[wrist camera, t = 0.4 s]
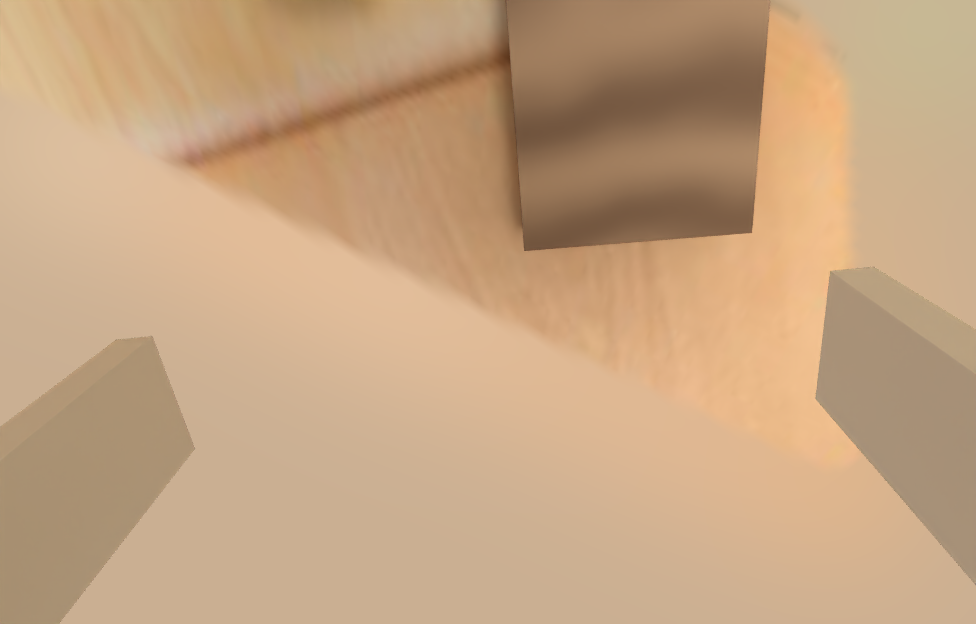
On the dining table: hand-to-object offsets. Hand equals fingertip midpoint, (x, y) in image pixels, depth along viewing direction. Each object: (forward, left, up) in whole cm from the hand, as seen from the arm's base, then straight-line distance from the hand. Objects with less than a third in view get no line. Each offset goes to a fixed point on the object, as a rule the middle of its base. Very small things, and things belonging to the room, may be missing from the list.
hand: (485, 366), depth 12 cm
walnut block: (-3, +7, -26) cm, 27 cm away
